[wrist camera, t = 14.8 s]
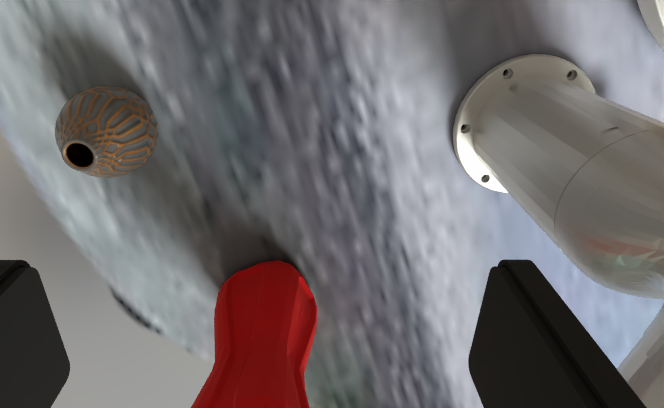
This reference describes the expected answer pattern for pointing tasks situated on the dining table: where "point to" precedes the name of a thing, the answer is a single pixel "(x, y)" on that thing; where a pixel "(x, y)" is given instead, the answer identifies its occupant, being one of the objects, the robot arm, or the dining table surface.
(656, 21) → the bowl
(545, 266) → the dining table surface
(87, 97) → the vase
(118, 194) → the dining table surface
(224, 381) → the water bottle
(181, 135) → the dining table surface
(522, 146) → the robot arm
